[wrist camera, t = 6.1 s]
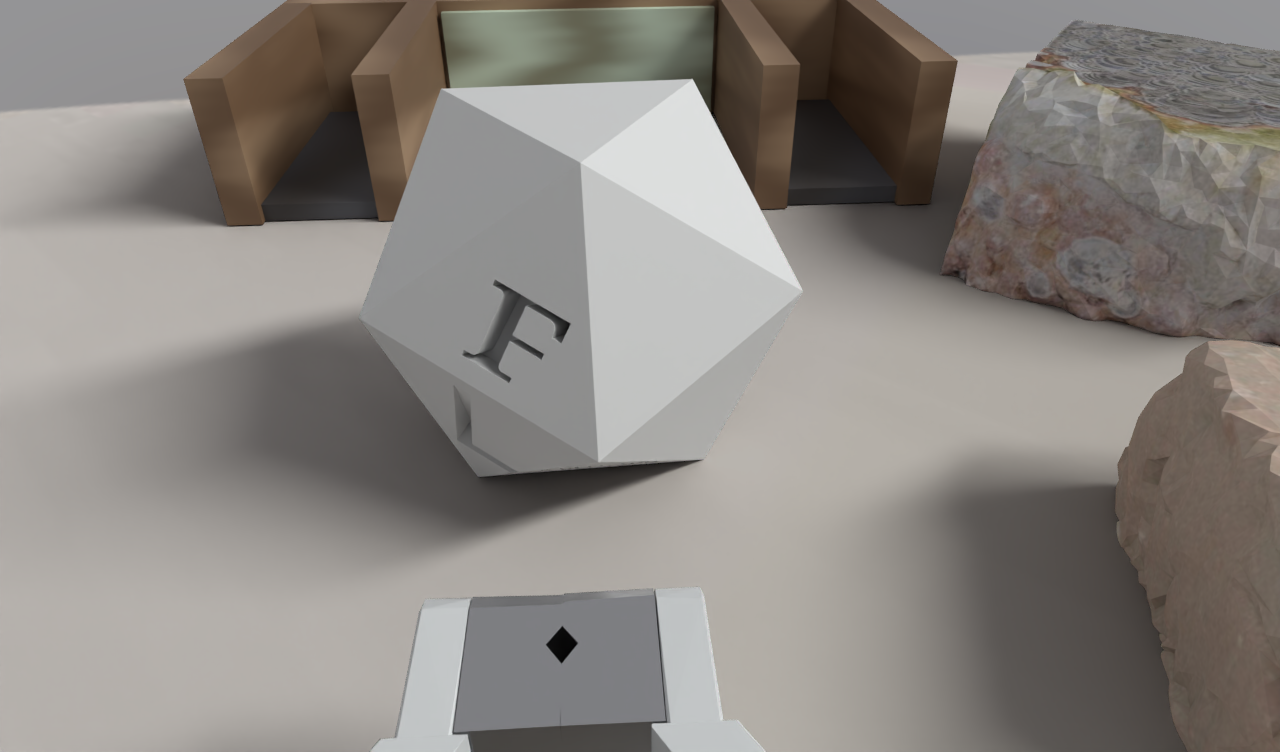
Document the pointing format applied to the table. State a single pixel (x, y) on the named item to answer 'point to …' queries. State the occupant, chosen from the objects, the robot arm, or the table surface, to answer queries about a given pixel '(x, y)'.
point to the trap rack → (568, 54)
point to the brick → (1212, 541)
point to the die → (578, 276)
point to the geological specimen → (1133, 185)
